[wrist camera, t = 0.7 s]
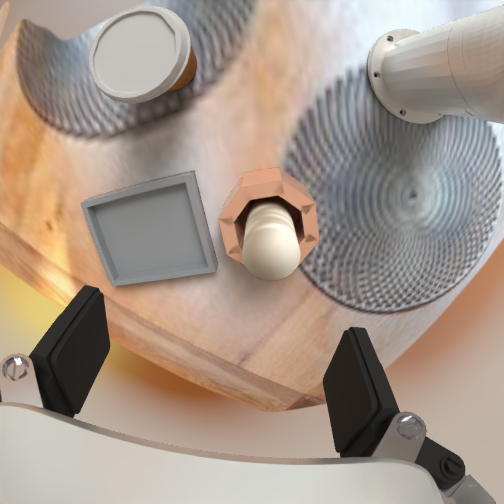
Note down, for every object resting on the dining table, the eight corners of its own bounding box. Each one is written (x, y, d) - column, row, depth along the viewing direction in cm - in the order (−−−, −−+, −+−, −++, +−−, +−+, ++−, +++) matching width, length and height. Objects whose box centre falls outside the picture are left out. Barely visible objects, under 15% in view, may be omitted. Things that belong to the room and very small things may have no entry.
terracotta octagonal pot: (302, 163, 36) (311, 175, 29) (312, 238, 40) (321, 264, 33) (220, 177, 37) (211, 192, 30) (237, 250, 41) (232, 277, 35)
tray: (194, 170, 36) (190, 174, 34) (218, 263, 42) (215, 271, 40) (88, 198, 38) (80, 203, 36) (117, 278, 44) (112, 286, 42)
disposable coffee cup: (213, 98, 32) (190, 93, 22) (137, 109, 33) (88, 113, 22) (208, 25, 28) (185, -9, 17) (133, 40, 29) (84, 19, 18)
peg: (285, 188, 36) (296, 224, 25) (291, 227, 38) (303, 276, 27) (244, 195, 36) (236, 234, 26) (252, 233, 39) (248, 284, 28)
